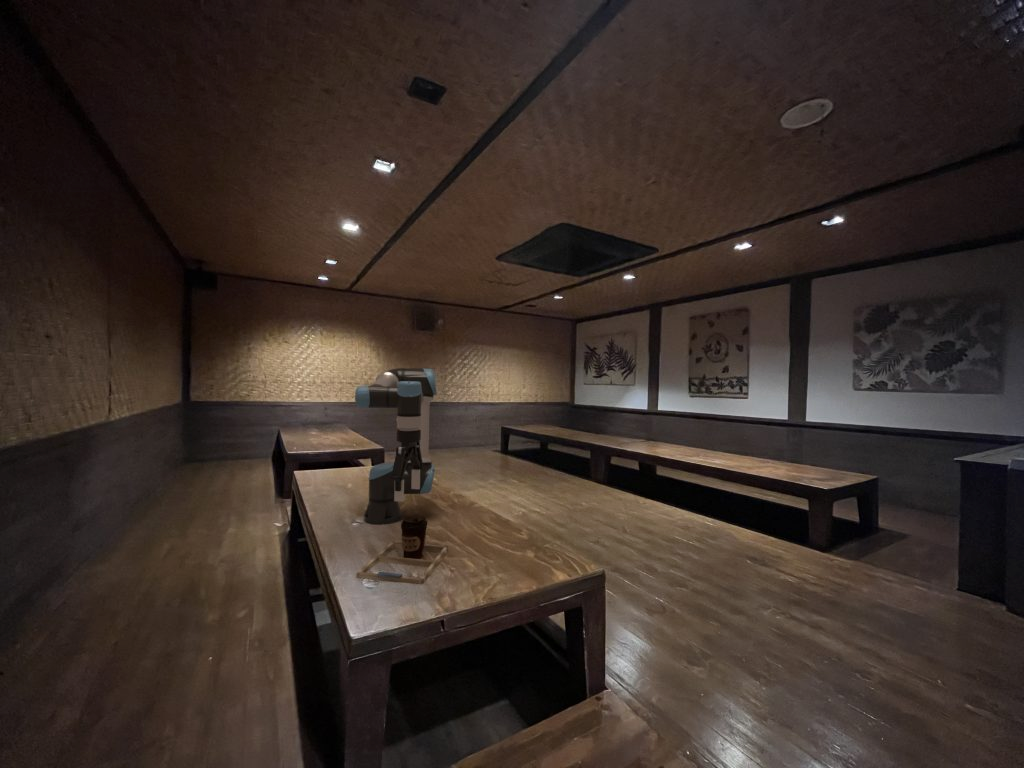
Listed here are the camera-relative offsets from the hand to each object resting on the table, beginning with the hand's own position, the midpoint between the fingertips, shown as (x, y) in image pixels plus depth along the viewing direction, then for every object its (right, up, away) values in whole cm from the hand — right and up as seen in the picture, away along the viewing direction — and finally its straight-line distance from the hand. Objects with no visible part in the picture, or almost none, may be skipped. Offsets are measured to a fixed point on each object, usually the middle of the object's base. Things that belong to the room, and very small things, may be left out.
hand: (407, 494), depth 127 cm
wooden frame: (0, -21, -4) cm, 21 cm away
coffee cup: (+2, -21, +1) cm, 21 cm away
